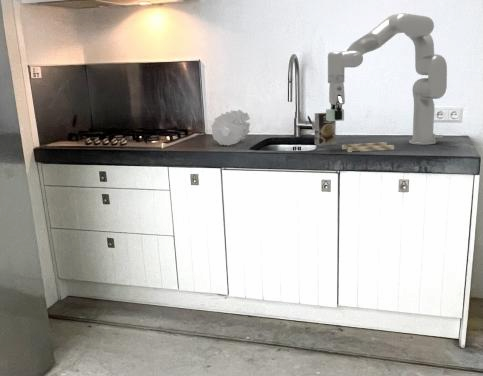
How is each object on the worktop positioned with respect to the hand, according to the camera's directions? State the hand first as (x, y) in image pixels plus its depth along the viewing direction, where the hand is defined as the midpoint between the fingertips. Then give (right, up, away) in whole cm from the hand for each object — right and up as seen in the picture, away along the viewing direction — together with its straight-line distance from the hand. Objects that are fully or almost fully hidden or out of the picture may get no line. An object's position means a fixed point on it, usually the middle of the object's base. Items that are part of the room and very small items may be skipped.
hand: (336, 118), depth 237 cm
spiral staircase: (-49, -8, +41) cm, 65 cm away
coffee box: (-1, -10, +24) cm, 26 cm away
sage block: (-1, -1, 0) cm, 1 cm away
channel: (+16, -14, +5) cm, 22 cm away
